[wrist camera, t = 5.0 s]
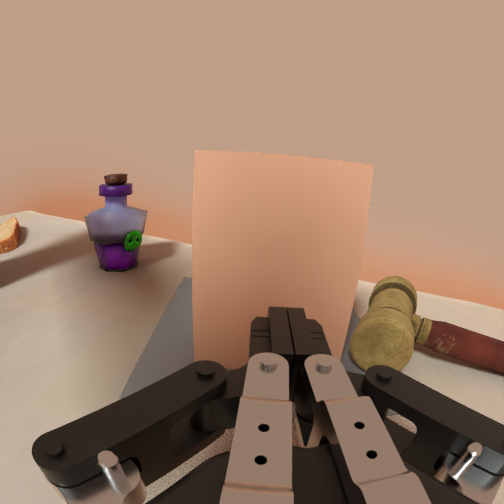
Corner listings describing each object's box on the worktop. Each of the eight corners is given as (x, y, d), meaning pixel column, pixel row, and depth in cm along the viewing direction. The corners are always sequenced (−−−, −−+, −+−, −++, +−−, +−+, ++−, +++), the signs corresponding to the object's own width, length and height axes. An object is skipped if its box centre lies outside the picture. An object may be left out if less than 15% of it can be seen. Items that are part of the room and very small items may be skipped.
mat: (122, 403, 17) (120, 396, 16) (184, 282, 36) (184, 277, 36) (404, 412, 17) (407, 406, 17) (339, 291, 36) (339, 286, 36)
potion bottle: (129, 280, 35) (125, 176, 31) (75, 270, 36) (69, 177, 33) (160, 258, 43) (160, 172, 39) (111, 251, 44) (108, 171, 41)
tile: (194, 365, 21) (195, 149, 16) (198, 351, 22) (200, 150, 18) (337, 371, 21) (373, 165, 16) (332, 357, 22) (364, 164, 18)
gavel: (552, 329, 19) (585, 382, 11) (532, 366, 21) (554, 427, 12) (379, 269, 28) (360, 309, 20) (366, 311, 29) (341, 364, 21)
